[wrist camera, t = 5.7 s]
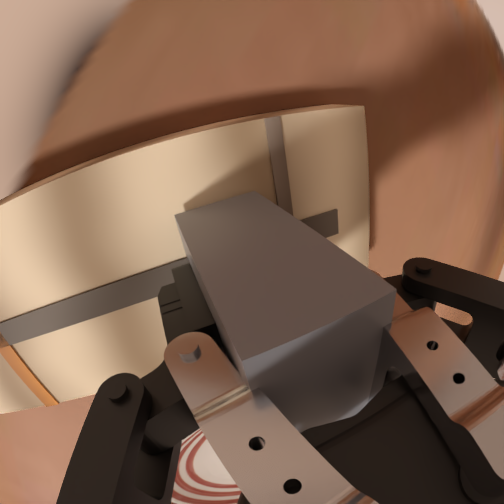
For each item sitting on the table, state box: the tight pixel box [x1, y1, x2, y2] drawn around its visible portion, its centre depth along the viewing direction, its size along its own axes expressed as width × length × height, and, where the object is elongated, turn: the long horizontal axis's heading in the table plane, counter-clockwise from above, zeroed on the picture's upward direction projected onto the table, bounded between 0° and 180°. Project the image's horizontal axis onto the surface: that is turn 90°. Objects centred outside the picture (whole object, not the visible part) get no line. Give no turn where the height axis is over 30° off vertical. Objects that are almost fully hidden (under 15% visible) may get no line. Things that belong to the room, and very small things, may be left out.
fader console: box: [0, 104, 370, 414], centre depth 12 cm, size 23×10×3 cm, turn 100°
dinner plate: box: [171, 429, 242, 504], centre depth 24 cm, size 27×27×3 cm
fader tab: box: [174, 191, 397, 433], centre depth 9 cm, size 3×5×7 cm, turn 10°
